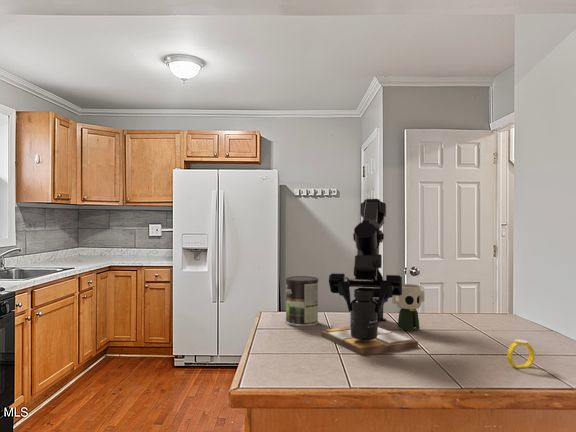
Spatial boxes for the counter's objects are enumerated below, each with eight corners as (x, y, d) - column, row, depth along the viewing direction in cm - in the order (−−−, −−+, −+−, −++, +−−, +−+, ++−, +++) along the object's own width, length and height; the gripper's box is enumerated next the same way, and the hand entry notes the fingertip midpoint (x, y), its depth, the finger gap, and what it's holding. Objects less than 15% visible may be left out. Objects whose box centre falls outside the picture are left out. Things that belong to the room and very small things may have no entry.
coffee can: (287, 327, 137) (287, 280, 137) (284, 319, 148) (284, 276, 148) (321, 326, 139) (321, 280, 139) (315, 318, 149) (315, 275, 149)
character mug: (399, 334, 129) (399, 288, 129) (386, 328, 135) (385, 285, 135) (431, 331, 132) (431, 286, 132) (417, 325, 139) (416, 283, 139)
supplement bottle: (377, 341, 110) (376, 292, 110) (349, 339, 112) (348, 291, 112) (378, 334, 117) (378, 287, 117) (352, 332, 119) (351, 287, 119)
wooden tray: (371, 329, 134) (371, 323, 134) (418, 347, 116) (417, 339, 116) (321, 336, 127) (321, 329, 127) (362, 355, 109) (362, 348, 109)
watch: (527, 365, 102) (529, 339, 102) (536, 369, 100) (538, 342, 100) (504, 365, 101) (505, 338, 101) (512, 369, 98) (514, 342, 99)
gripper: (329, 242, 121) (322, 291, 110) (401, 243, 116) (401, 294, 105) (334, 268, 128) (327, 316, 118) (401, 270, 124) (401, 320, 113)
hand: (363, 311), depth 113 cm, fingers closed on supplement bottle, 7 cm apart
